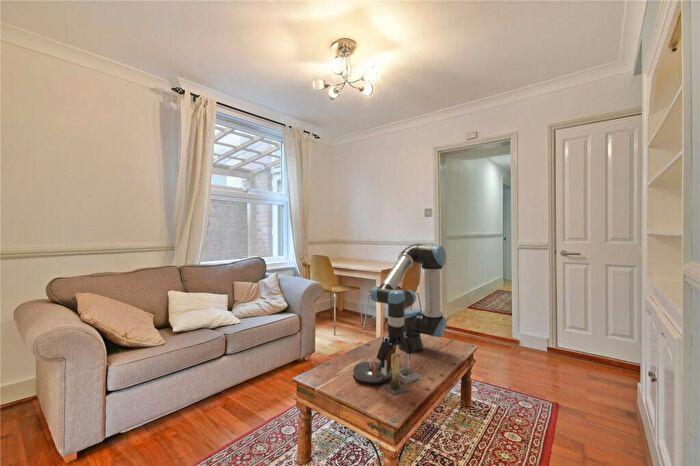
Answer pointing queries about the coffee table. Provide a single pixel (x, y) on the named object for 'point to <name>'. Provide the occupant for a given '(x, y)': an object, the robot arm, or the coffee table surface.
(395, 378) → the yellow tall cylinder
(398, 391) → the rest pad
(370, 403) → the coffee table surface
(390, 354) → the disposable coffee cup
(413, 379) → the grey square frame
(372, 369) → the compass
